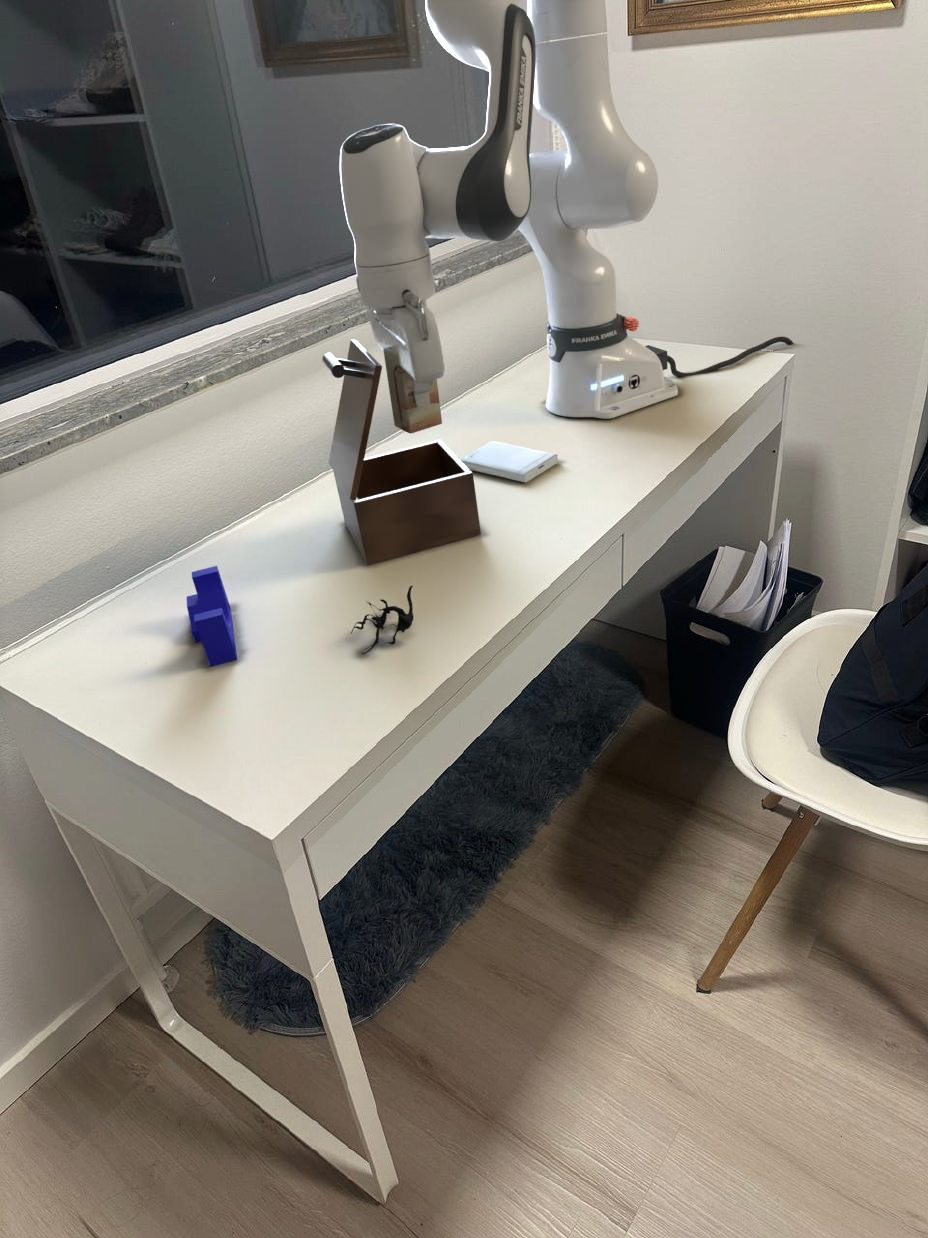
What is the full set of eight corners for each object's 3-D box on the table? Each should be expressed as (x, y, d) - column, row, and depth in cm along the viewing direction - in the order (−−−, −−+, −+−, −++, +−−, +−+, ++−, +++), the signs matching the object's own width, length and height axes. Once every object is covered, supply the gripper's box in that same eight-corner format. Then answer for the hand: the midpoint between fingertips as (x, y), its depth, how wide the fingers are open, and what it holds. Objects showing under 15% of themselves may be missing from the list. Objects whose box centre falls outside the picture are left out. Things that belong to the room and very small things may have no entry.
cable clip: (193, 617, 108) (178, 575, 105) (230, 608, 109) (216, 565, 106) (196, 670, 98) (180, 625, 95) (237, 659, 99) (222, 614, 96)
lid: (356, 340, 113) (319, 333, 111) (382, 366, 102) (341, 359, 100) (334, 463, 120) (299, 458, 118) (356, 500, 109) (317, 496, 107)
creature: (348, 665, 97) (414, 651, 95) (327, 625, 94) (394, 610, 92) (366, 625, 103) (428, 611, 101) (347, 587, 101) (410, 571, 98)
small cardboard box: (410, 435, 111) (396, 355, 106) (393, 426, 114) (380, 348, 109) (445, 423, 113) (434, 344, 108) (428, 415, 116) (416, 338, 111)
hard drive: (459, 459, 135) (523, 473, 127) (493, 439, 140) (557, 452, 132) (460, 469, 136) (524, 483, 128) (494, 449, 140) (558, 462, 133)
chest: (449, 496, 128) (441, 438, 123) (481, 534, 117) (473, 472, 112) (345, 523, 125) (332, 466, 120) (367, 565, 113) (353, 503, 109)
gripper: (448, 294, 97) (464, 415, 104) (400, 265, 113) (417, 372, 121) (393, 305, 95) (413, 428, 103) (352, 275, 112) (372, 382, 119)
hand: (415, 397), depth 112 cm, fingers closed on small cardboard box, 5 cm apart
